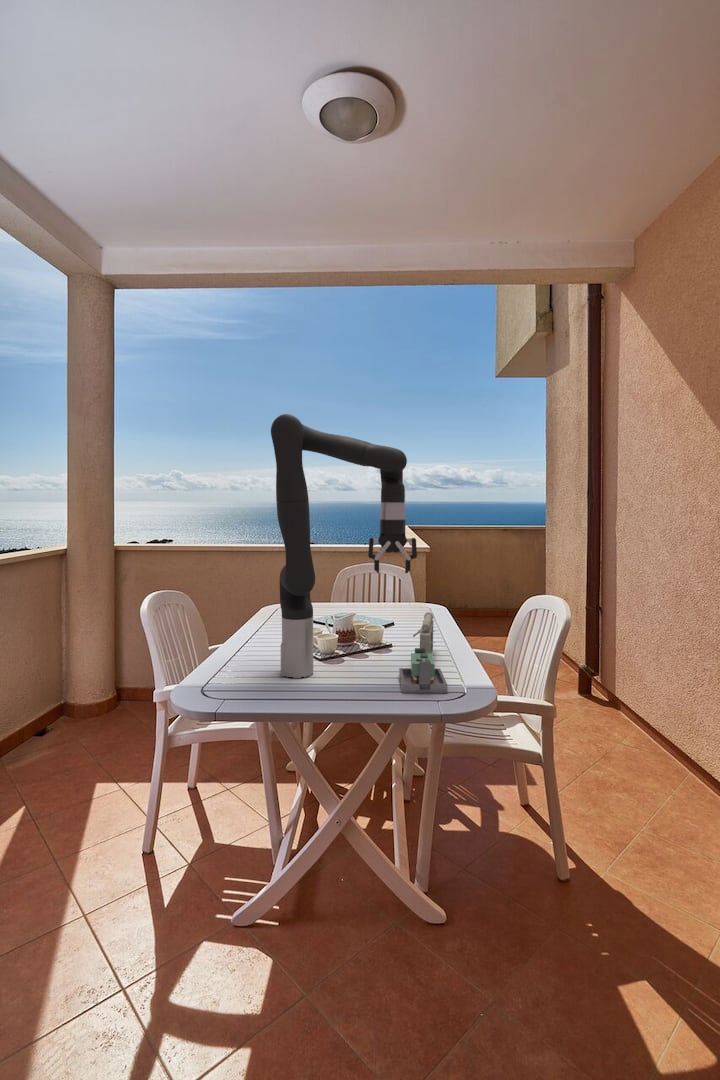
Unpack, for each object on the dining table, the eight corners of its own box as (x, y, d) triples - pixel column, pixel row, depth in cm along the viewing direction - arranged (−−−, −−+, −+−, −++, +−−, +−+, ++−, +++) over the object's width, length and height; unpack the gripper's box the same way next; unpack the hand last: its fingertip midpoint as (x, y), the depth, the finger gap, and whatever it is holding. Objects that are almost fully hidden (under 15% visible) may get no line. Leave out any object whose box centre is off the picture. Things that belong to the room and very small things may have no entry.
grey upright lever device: (433, 625, 152) (437, 608, 177) (412, 623, 153) (419, 607, 178) (432, 670, 153) (436, 647, 178) (411, 668, 154) (418, 645, 179)
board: (412, 676, 136) (412, 660, 136) (411, 664, 145) (411, 650, 145) (434, 676, 135) (434, 661, 135) (431, 665, 145) (432, 650, 145)
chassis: (402, 693, 134) (402, 662, 134) (399, 676, 147) (399, 648, 147) (447, 693, 134) (447, 662, 134) (439, 676, 147) (440, 648, 146)
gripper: (368, 518, 144) (368, 574, 145) (418, 518, 144) (417, 574, 145) (368, 517, 152) (368, 570, 153) (415, 517, 151) (415, 571, 153)
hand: (392, 572), depth 149 cm, fingers open, 8 cm apart
